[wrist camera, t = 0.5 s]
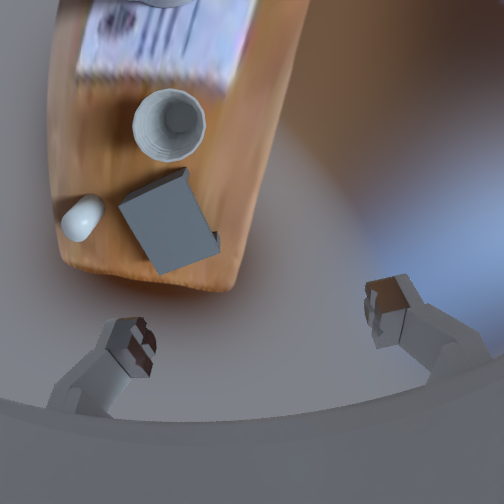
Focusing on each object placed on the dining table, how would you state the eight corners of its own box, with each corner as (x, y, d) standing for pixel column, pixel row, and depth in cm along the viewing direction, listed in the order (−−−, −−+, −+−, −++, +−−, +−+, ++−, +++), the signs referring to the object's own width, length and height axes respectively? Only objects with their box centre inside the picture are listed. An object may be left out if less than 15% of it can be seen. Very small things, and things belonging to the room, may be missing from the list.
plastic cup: (164, 79, 45) (148, 77, 35) (220, 102, 48) (219, 106, 38) (140, 133, 49) (120, 147, 39) (193, 155, 53) (186, 174, 42)
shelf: (127, 194, 55) (118, 206, 50) (186, 166, 54) (182, 176, 48) (164, 259, 63) (159, 275, 58) (220, 237, 62) (220, 252, 57)
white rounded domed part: (74, 201, 54) (55, 220, 46) (96, 188, 54) (78, 206, 46) (88, 225, 57) (72, 246, 50) (110, 213, 57) (95, 234, 49)
